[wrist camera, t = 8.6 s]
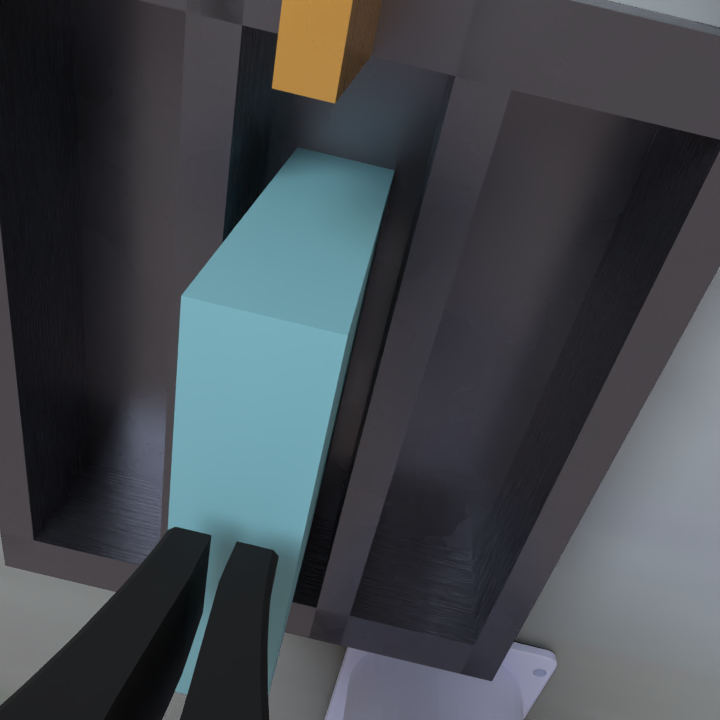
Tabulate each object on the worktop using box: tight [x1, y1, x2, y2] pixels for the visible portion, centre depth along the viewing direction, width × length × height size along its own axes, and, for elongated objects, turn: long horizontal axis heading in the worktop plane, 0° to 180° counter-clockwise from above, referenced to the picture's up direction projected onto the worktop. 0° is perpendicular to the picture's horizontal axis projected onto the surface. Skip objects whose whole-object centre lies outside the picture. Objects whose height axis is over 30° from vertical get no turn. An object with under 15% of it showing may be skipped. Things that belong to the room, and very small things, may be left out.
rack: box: [0, 0, 720, 681], centre depth 16 cm, size 22×15×8 cm
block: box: [168, 147, 395, 695], centre depth 15 cm, size 10×2×8 cm, turn 169°
